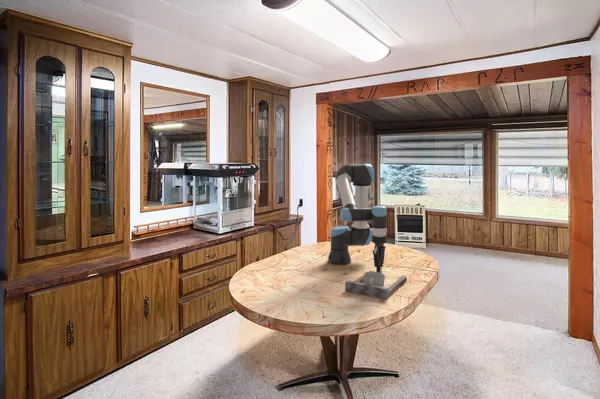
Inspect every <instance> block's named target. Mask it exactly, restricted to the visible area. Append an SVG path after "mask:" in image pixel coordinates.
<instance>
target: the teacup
mask: <svg viewBox="0 0 600 399" xmlns="http://www.w3.org/2000/svg"><path fill="white" fill-rule="evenodd" d="M373 271H374V270H369V271H365V272H363V275H364V284H370V285H375V286H381V287H385V277H386V275H385V274H384V273H383V272H382V273H379V272H376V271H374V272H373Z"/></svg>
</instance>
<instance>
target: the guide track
mask: <svg viewBox="0 0 600 399" xmlns="http://www.w3.org/2000/svg"><path fill="white" fill-rule="evenodd" d="M372 271H373V272H375V270H372ZM407 280H408V276H407V275H406V276H405V275H402V276H400V277H399V278H398V279H397V280H396V281H394V282H393V283H392V284H390V285H389V287H386V286H383V287H381V286H375V285H370V284H364V274H363V275H361V276H360V277H358V278H357V279H355V280H348V279H347V280H346V281H345V282H344V286H345V287H344V291H345V292H348V293H352V294H353V293H354V294H358V295H363V296H366V297H367V296H368V297H373V298H379V299H383V300H388V299H389V298H390V296H392V295H393V294H394V293H395V292H397V290H398V289H400V288H401V287H402V285H404V284H405V283H406V282H407Z"/></svg>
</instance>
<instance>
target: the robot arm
mask: <svg viewBox="0 0 600 399" xmlns="http://www.w3.org/2000/svg"><path fill="white" fill-rule="evenodd" d="M334 177H335V179H334V180H335V183H336V185H337V186H338V190H339V194H340V200H341V204H342V207H343V208H341V209H340V220H341V222H343V223H344V222H345V223H350V222H351V223H352V224H351V227H350V228H349V226H348V225H338V226H334V227H332V228H331V230H330V234H329V235H330V236H329V237H330V251H329V254H328V258H327V262H328V263H329V264H332V265H339V266H340V265H348V264H350V263H352V258H351V255H350V254H351V253H350V251H349V247H356V246H357V247H361V246H362V247H364V246H369V245H370V244H371V242H372V243H373V244H374V250H372V254H373V264H374V268H375V272H379V273H382V274H383V268H384V267H385V266H384V265H385V264H384V263H385V262H384V261H385V254H386V252H385V251H386V246H385V244H386V243H387V232H388V229H387V222H388V221H387V218H388V216H387V214H388V213H387V212H388V211H387V209H388V208H387V206H385V205H373V206H369V191H370V190H369V189H370V187H371V186H372V183H374V182H375V171H374V167H373V166H372V164H369V163H347V164H344V165H342V166H340V168H338V170H337V171H336V174H335V176H334ZM351 183H352V184H351ZM352 186H353V187H354V190H353V187H352ZM368 222H371V227H370V225H369V224H368Z"/></svg>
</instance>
